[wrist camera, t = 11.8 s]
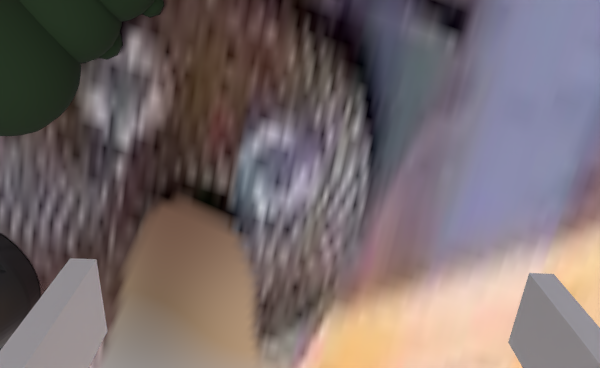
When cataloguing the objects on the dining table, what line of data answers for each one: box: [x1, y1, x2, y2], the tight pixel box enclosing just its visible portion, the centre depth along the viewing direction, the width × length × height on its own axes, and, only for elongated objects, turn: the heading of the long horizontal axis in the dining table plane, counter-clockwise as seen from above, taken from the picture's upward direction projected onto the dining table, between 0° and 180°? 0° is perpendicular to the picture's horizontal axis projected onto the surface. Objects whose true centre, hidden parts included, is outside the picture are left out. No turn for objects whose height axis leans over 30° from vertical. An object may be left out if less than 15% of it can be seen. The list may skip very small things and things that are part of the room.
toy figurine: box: [0, 0, 164, 136], centre depth 28 cm, size 10×19×26 cm
